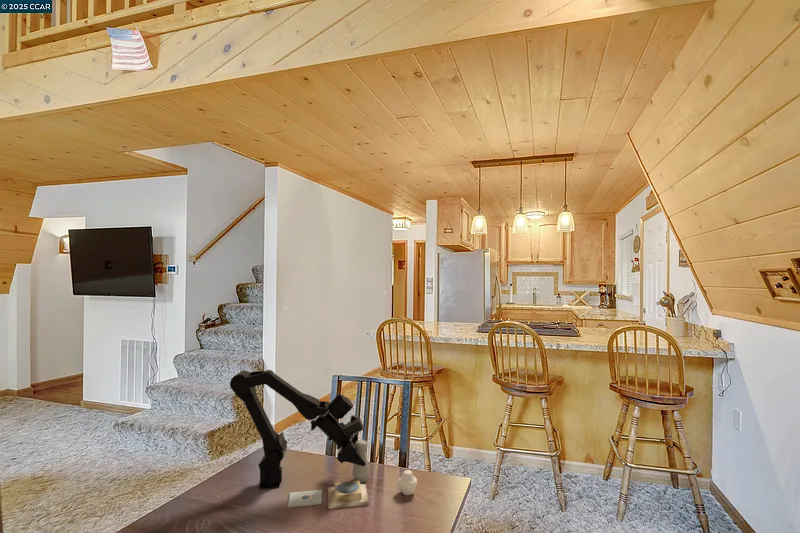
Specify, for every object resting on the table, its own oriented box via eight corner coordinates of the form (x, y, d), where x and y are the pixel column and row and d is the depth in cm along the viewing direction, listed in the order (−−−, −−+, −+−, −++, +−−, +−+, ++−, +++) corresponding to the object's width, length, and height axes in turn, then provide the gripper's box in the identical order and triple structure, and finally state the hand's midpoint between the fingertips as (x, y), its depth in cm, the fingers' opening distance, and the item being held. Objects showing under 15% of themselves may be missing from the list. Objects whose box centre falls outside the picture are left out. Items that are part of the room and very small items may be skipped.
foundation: (328, 508, 125) (328, 498, 125) (328, 490, 135) (328, 480, 136) (368, 504, 127) (368, 494, 127) (365, 487, 138) (365, 477, 138)
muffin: (414, 486, 138) (414, 465, 138) (419, 496, 132) (419, 473, 132) (396, 489, 136) (396, 467, 136) (400, 498, 130) (400, 475, 130)
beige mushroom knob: (366, 485, 139) (366, 445, 139) (350, 483, 140) (350, 444, 140) (371, 476, 145) (371, 438, 145) (355, 475, 146) (355, 437, 146)
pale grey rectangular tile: (287, 507, 125) (287, 505, 125) (289, 493, 133) (289, 492, 133) (321, 504, 127) (321, 502, 127) (321, 491, 135) (321, 489, 135)
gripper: (347, 420, 133) (382, 454, 134) (350, 403, 152) (381, 432, 152) (322, 446, 133) (357, 480, 133) (328, 425, 151) (359, 455, 152)
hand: (365, 460), depth 143 cm, fingers open, 7 cm apart
